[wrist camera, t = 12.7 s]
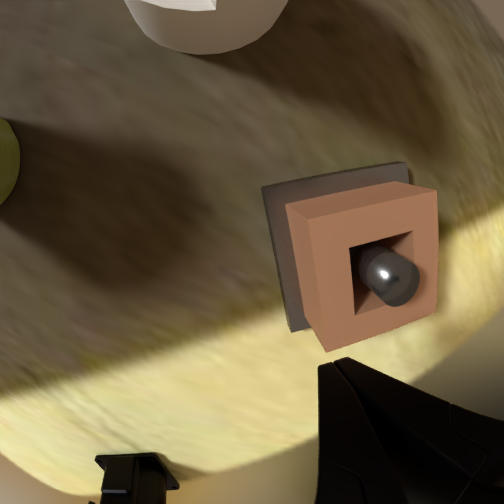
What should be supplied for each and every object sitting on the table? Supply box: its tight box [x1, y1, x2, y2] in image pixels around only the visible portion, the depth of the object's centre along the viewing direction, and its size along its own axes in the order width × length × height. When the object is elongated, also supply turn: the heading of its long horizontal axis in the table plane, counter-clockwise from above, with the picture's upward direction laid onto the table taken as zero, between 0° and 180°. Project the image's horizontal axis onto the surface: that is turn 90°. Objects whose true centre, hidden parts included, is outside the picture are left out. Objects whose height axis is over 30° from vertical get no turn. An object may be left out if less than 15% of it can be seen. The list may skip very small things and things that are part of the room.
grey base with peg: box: [261, 162, 420, 333], centre depth 16 cm, size 9×9×6 cm
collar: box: [285, 181, 439, 352], centre depth 16 cm, size 7×7×4 cm
